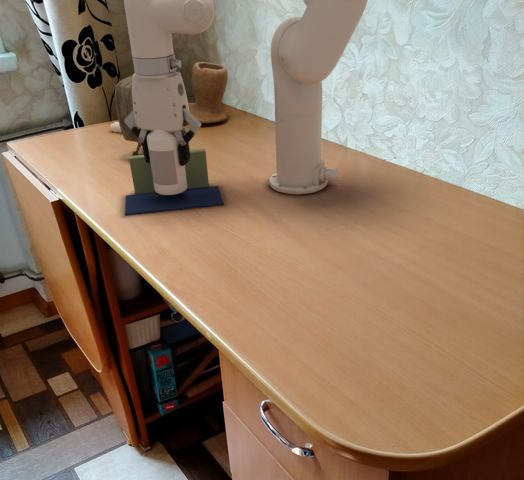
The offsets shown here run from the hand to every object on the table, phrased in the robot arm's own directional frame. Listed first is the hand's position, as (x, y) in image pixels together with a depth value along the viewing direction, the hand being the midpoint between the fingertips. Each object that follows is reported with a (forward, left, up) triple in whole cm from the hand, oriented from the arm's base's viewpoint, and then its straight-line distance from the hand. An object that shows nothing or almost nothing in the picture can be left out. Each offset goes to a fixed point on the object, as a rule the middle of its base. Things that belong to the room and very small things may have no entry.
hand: (167, 161), depth 116 cm
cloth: (-1, +1, -8) cm, 8 cm away
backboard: (+2, -5, -8) cm, 10 cm away
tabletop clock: (+16, -26, -8) cm, 32 cm away
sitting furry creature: (+32, -42, -8) cm, 54 cm away
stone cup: (+15, -56, -8) cm, 59 cm away
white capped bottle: (0, 0, -6) cm, 6 cm away
